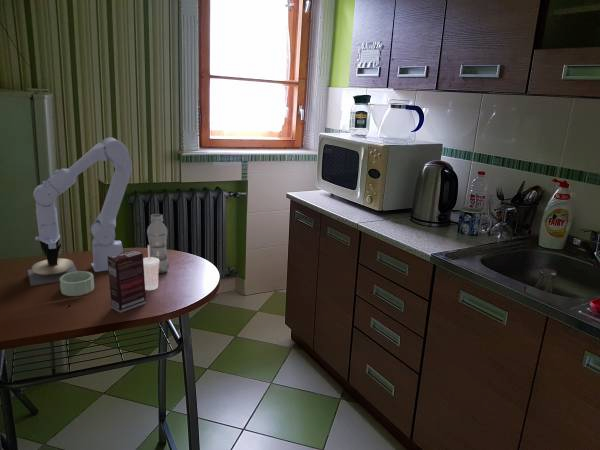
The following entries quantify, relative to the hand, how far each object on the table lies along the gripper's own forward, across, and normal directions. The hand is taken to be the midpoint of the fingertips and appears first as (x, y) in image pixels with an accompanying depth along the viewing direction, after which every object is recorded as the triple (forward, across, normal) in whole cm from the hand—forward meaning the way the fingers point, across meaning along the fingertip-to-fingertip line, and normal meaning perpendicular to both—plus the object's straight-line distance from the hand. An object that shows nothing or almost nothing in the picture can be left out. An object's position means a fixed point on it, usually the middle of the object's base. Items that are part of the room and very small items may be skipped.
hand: (52, 262), depth 152 cm
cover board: (+2, 0, 0) cm, 2 cm away
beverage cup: (+4, +23, +25) cm, 34 cm away
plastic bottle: (+5, +12, +31) cm, 33 cm away
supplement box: (+4, +33, +16) cm, 37 cm away
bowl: (+4, +16, +5) cm, 17 cm away
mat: (+4, 0, 0) cm, 4 cm away
